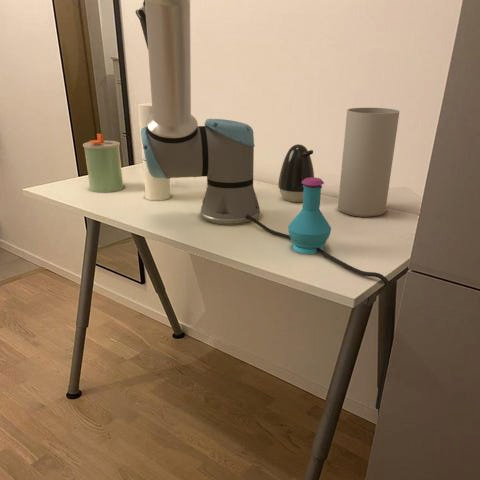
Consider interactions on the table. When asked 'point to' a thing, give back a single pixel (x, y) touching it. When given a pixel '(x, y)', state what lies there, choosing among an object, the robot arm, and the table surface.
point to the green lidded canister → (104, 166)
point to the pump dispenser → (295, 173)
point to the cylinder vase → (367, 160)
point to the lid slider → (100, 139)
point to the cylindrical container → (153, 186)
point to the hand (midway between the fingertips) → (163, 79)
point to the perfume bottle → (309, 220)
